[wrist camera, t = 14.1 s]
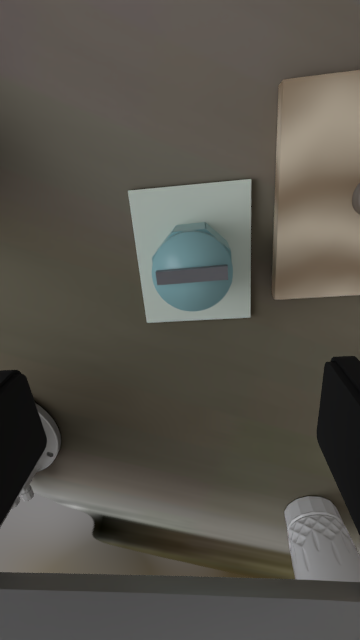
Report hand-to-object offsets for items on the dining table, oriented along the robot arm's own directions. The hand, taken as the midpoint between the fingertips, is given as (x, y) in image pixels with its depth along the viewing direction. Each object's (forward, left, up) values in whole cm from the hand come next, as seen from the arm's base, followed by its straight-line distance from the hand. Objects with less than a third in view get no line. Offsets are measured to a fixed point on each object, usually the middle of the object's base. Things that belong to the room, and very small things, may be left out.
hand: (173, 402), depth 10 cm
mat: (0, 0, -20) cm, 20 cm away
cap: (0, 0, -19) cm, 19 cm away
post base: (+4, -14, -20) cm, 25 cm away
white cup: (-35, -13, -20) cm, 42 cm away
